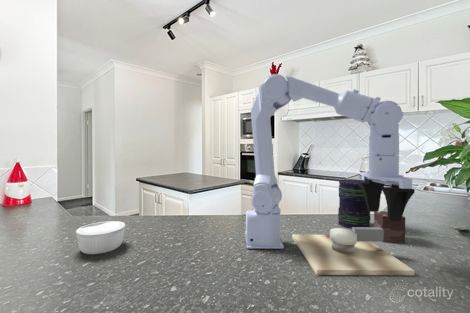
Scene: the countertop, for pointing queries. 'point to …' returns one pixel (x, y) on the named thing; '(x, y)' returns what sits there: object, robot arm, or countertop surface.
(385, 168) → the robot arm
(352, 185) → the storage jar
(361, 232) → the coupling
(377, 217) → the box
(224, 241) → the countertop surface
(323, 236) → the post board
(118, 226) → the ramekin
